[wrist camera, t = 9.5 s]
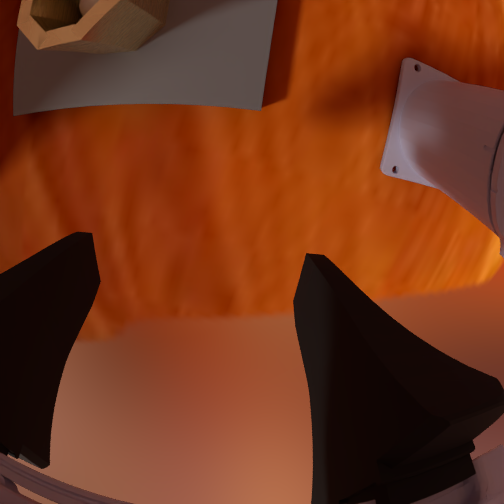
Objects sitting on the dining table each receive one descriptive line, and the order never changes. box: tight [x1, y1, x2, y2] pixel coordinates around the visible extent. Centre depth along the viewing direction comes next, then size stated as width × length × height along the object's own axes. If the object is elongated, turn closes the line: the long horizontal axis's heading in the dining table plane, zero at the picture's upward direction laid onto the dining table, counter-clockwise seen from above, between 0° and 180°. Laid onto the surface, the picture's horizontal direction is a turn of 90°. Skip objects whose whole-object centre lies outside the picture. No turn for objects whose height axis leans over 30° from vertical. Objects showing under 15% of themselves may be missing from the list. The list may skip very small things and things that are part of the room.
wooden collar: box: [17, 0, 170, 54], centre depth 8 cm, size 5×5×6 cm
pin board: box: [13, 0, 277, 116], centre depth 9 cm, size 16×11×6 cm
